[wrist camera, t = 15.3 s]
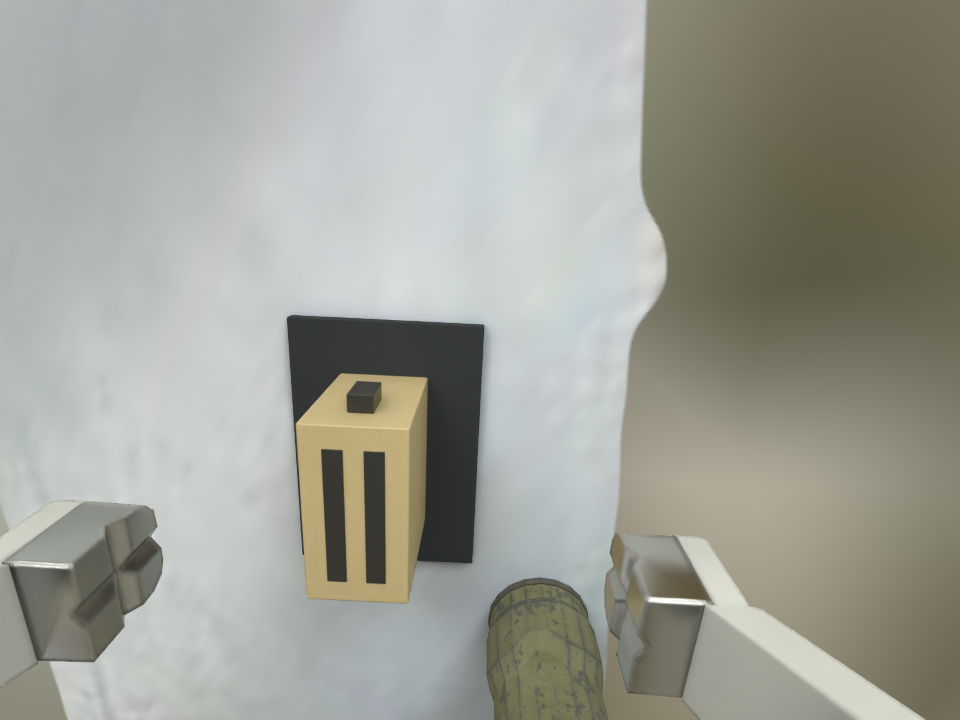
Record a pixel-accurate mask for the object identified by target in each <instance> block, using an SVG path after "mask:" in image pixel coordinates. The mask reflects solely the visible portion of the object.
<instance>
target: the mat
mask: <svg viewBox="0 0 960 720" xmlns="http://www.w3.org/2000/svg"><path fill="white" fill-rule="evenodd" d="M287 325H288V340H289V355H290V370H291V385H292V401H293V416H294V431H295V446H296V461H297V476H298V491H299V506H300V521H301V537H302V552H303V555H304V545H303V529H302V513H301V498H300V482H299V466H298V450H297V435H296V423H297V422H298V421H299V420H300V418H301V417H302V416H303V415H304V414H305V413H306V412H307V411H308V410H309V408H310V407H311V406H312V405H313V404H314V403H315V402H316V401H317V399H318V398H319V397H320V396H321V395H322V394H323V393H324V392H325V391H326V389H327V388H328V387H329V386H330V385H331V384H332V383H333V382H334V380H335V379H336V378H337V377H338V376H339V375H340V374H341V373H344V374H364V375H384V376H404V377H424V378H428V394H427V445H426V497H425V522H424V527H423V532H422V537H421V542H420V547H419V552H418V557H417V561H438V562H459V563H472V555H473V535H474V515H475V496H476V476H477V457H478V437H479V417H480V398H481V378H482V359H483V339H484V325H481V324H461V323H441V322H420V321H400V320H380V319H359V318H339V317H319V316H298V315H291V316H289V317H287Z"/></svg>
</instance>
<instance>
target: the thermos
mask: <svg viewBox="0 0 960 720" xmlns="http://www.w3.org/2000/svg"><path fill="white" fill-rule="evenodd" d="M489 629H490V630H489V635H488V639H487V678H488V684H489V689H490V692H491V695H492V698H493V701H494V720H608V717H607V713H606V708H605V704H604V700H603V696H602V693H603V668H602V661H601V657H600V653H599V649H598V645H597V641H596V637H595V633H594V630H593V628H592V626H591V625H590V623H589V621H588V613H587V609H586V606H585V604H584V602H583V601H582V599H581V597H580V595H579V594H577V593H576V592H575V591H574V590H573V589H572V588H571V587H570V586H568V585H565V584H563V583H561V582H559V581H557V580H552V579H545V578H534V579H525V580H522V581H519V582H517V583H514V584H512V585H510V586H508V587H507V588H506V589H505V590H503V591H502V592H501V593H500V594H498V596H497V597H496V599H495V601H494V602H493V604H492V605H491V609H490V614H489Z"/></svg>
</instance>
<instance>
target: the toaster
mask: <svg viewBox="0 0 960 720" xmlns="http://www.w3.org/2000/svg"><path fill="white" fill-rule="evenodd" d="M427 394H428V378H424V377H404V376H384V375H364V374H344V373H341V374H340V375H339V376H338V377H337V378H336V379H335V380H334V382H333V383H332V384H331V385H330V386H329V387H328V388H327V389H326V391H325V392H324V393H323V394H322V395H321V396H320V397H319V398H318V399H317V401H316V402H315V403H314V404H313V405H312V406H311V407H310V408H309V410H308V411H307V412H306V413H305V414H304V415H303V416H302V417H301V418H300V420H299V421H298V422H297V423H296V435H297V450H298V466H299V482H300V498H301V513H302V529H303V545H304V560H305V576H306V592H307V598H308V599H328V600H348V601H368V602H388V603H408V602H409V597H410V592H411V587H412V582H413V577H414V572H415V567H416V562H417V557H418V552H419V547H420V542H421V537H422V532H423V527H424V522H425V497H426V445H427Z"/></svg>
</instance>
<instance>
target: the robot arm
mask: <svg viewBox="0 0 960 720" xmlns="http://www.w3.org/2000/svg"><path fill="white" fill-rule="evenodd" d="M156 528H157V523H156V518H155V514H154V510H152V509H150V508H149V507H147V506H143V505H130V504H118V503H105V502H93V501H91V502H87V501H76V500H59V501H54V502H50V503H49V504H47V505H46V506H45V507H43V508H42V509H40V510H39V511H37V512H36V513H34V514H33V515H32V516H30V517H29V518H27V519H26V520H24V521H23V522H21V523H20V524H18V525H17V526H16V527H14V528H13V529H11V530H10V531H8V532H7V533H6V534H4V535H3V536H1V537H0V688H1V687H3V686H4V685H6V684H7V683H9V682H10V681H12V680H13V679H15V678H17V677H18V676H20V675H21V674H23V673H24V672H26V671H27V670H29V669H31V668H32V667H33V666H35V665H37V663H38V661H68V662H95V661H96V659H97V658H98V657H99V656H100V655H101V654H102V652H103V651H104V650H105V649H106V648H107V646H108V645H109V644H110V643H111V642H112V641H113V639H114V638H115V637H116V636H117V635H118V634H119V632H120V631H121V630H122V629H123V628H124V615H126V614H127V613H129V612H131V611H133V610H135V609H136V608H138V607H140V606H142V605H143V604H144V603H145V602H146V600H147V599H148V598H149V597H150V596H151V594H152V593H153V592H154V590H155V588H156V586H157V583H158V581H159V579H160V576H161V574H162V565H163V556H162V550H161V547H160V546H159V545H158V544H157V543H156V542H155V541H154V540H153V539H152V537H151V535H152V534H153V532H154V531H155V529H156ZM610 554H611V557H612V560H613V563H614V567H613V568H612V569H611V570H610V571H608V572H607V574H606V581H605V589H604V594H605V611H606V618H607V622H608V626H609V630H610V632H611V633H612V634H613V635H614V636H615V637H616V638H617V639H618V640H619V644H618V649H617V654H616V655H617V658H618V662H619V666H620V669H621V673H622V676H623V680H624V683H625V687H626V690H627V693H636V694H646V695H658V696H669V697H680V698H682V701H683V703H684V704H685V705H686V706H687V707H688V708H689V709H690V711H691V712H692V713H693V714H694V715H695V716H696V717H697V719H698V720H925V719H924V718H922V717H921V716H919V715H918V714H916V713H915V712H913V711H912V710H910V709H909V708H907V707H906V706H904V705H903V704H902V703H900V702H899V701H897V700H896V699H894V698H893V697H891V696H890V695H888V694H887V693H885V692H884V691H882V690H881V689H879V688H878V687H876V686H875V685H873V684H872V683H870V682H869V681H867V680H866V679H864V678H863V677H862V676H860V675H858V674H857V673H856V672H854V671H852V670H851V669H850V668H848V667H847V666H845V665H844V664H842V663H841V662H839V661H838V660H836V659H835V658H833V657H832V656H830V655H829V654H828V653H826V652H825V651H823V650H822V649H820V648H819V647H817V646H816V645H814V644H813V643H811V642H809V641H808V640H807V639H805V638H804V637H802V636H801V635H799V634H798V633H796V632H795V631H793V630H792V629H790V628H789V627H788V626H786V625H785V624H783V623H782V622H780V621H779V620H777V619H776V618H774V617H773V616H771V615H770V614H768V613H767V612H765V611H764V610H762V609H761V608H758V607H757V608H756V607H750V606H749V604H748V603H747V601H746V600H745V598H744V597H743V595H742V594H741V592H740V591H739V589H738V587H737V586H736V584H735V583H734V581H733V580H732V578H731V577H730V575H729V573H728V572H727V570H726V569H725V567H724V566H723V564H722V563H721V561H720V560H719V558H718V556H717V555H716V553H715V552H714V550H713V549H712V547H711V546H710V544H709V543H708V541H707V540H706V539H705V538H703V537H702V536H687V535H686V536H685V535H672V536H661V535H641V534H622V533H615V535H614V537H613V540H612V544H611V550H610Z"/></svg>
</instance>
